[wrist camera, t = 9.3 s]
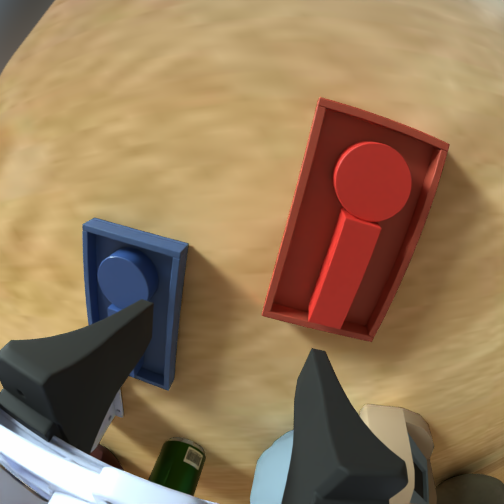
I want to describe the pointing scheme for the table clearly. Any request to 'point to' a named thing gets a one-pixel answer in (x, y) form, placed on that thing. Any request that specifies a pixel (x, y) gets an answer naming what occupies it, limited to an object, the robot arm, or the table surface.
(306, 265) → the red tray
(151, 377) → the blue tray
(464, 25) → the table surface
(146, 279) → the blue spoon
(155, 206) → the table surface
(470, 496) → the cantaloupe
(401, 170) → the red spoon
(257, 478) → the alarm clock
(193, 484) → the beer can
